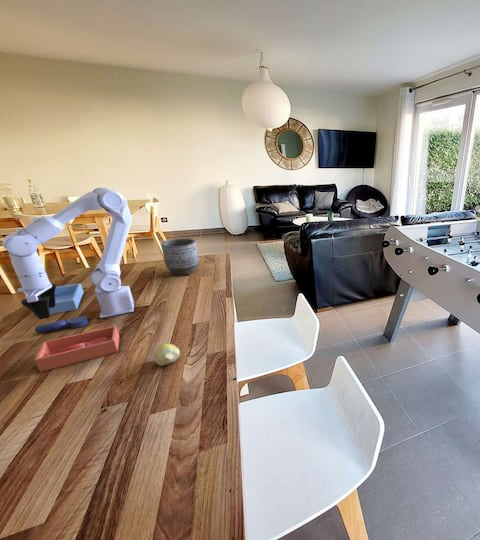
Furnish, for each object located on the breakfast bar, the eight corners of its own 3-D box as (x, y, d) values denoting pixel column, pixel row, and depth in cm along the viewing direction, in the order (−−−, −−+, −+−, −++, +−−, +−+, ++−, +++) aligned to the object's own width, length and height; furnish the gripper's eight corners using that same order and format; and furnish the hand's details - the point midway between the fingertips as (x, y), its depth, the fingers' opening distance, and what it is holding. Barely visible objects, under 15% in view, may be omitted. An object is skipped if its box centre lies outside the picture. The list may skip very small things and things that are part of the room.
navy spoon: (34, 337, 89) (31, 330, 88) (38, 330, 93) (35, 323, 92) (87, 325, 96) (84, 319, 95) (88, 319, 99) (86, 313, 98)
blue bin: (52, 297, 112) (48, 288, 110) (83, 292, 117) (80, 283, 115) (41, 316, 100) (36, 306, 98) (77, 309, 105) (73, 299, 103)
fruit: (178, 346, 89) (185, 359, 81) (157, 359, 85) (163, 374, 78) (168, 332, 86) (174, 344, 79) (146, 345, 83) (150, 358, 76)
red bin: (119, 336, 92) (116, 325, 90) (117, 351, 85) (114, 340, 83) (48, 353, 83) (43, 341, 82) (40, 372, 76) (34, 360, 75)
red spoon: (50, 363, 79) (47, 355, 78) (54, 354, 82) (51, 346, 81) (108, 348, 85) (106, 341, 84) (109, 340, 89) (107, 333, 88)
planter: (202, 273, 140) (197, 244, 134) (168, 279, 132) (161, 248, 126) (198, 264, 150) (193, 236, 145) (166, 268, 143) (160, 240, 137)
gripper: (19, 267, 89) (36, 305, 94) (2, 285, 78) (22, 327, 83) (51, 263, 93) (65, 300, 98) (39, 279, 82) (56, 320, 87)
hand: (47, 312), depth 91 cm, fingers open, 7 cm apart
